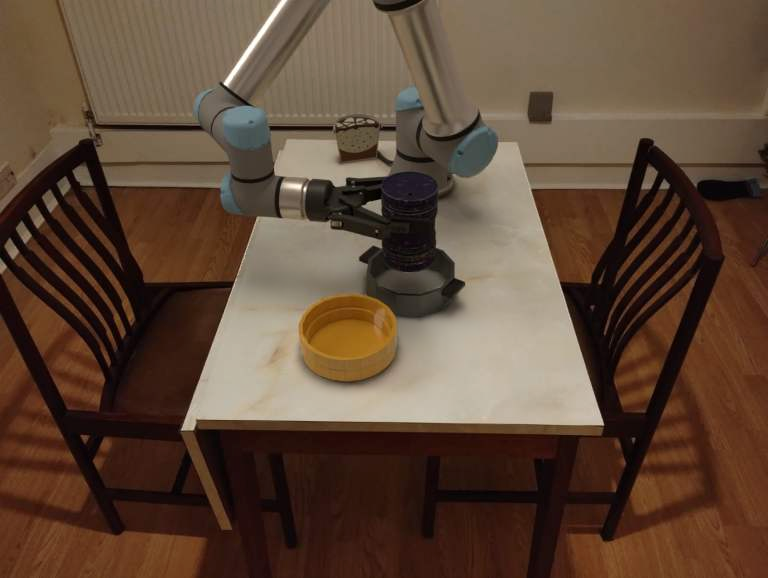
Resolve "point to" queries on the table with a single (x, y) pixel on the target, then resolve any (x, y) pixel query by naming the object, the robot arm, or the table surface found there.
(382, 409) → the table surface
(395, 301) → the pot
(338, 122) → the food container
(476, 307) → the table surface
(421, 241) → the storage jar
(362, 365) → the bowl
